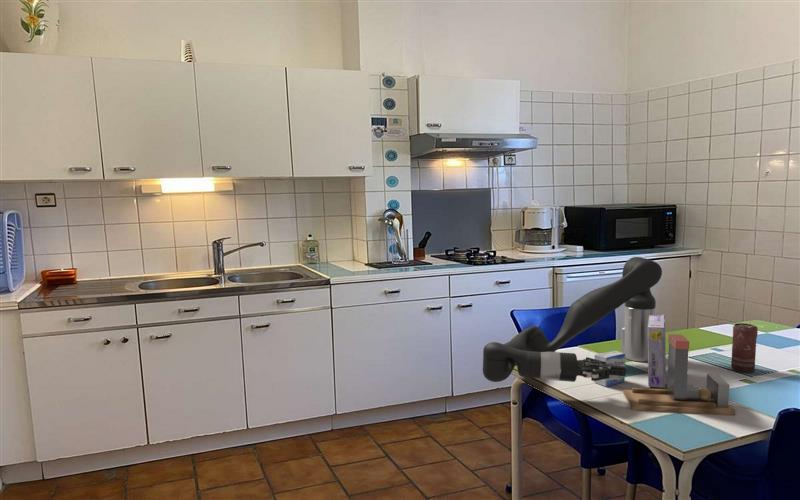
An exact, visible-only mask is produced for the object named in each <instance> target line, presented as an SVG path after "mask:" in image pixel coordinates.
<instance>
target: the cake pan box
mask: <svg viewBox="0 0 800 500" xmlns="http://www.w3.org/2000/svg"><path fill="white" fill-rule="evenodd" d="M666 340H667V339H666V316H665V314H655V315H649V322H648V361H647V376H648V378H647V379H648V380H647V381H648V387H650V388H655V389H666V378H667V377H666V375H667V365H666V363H667V362H666V360H667V356H666V349H667V348H666V343H667V342H666Z"/></svg>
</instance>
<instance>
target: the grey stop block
mask: <svg viewBox="0 0 800 500" xmlns="http://www.w3.org/2000/svg"><path fill="white" fill-rule="evenodd" d="M706 388H707V389H708V390H709V391H710V392H711V398H710V400H711V401H712V402H713V403H715V404H716V406H717V407H720V408H728V404H729V403H730V402H729V400H730V399H729V397H730V384H729V383H728V382H727V381H726V380H725V379H724V378H722V376H721V375H719V374H718V373H706ZM729 405H730V404H729Z"/></svg>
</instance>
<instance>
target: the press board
mask: <svg viewBox="0 0 800 500" xmlns="http://www.w3.org/2000/svg"><path fill="white" fill-rule="evenodd" d="M622 391H623V393H622V394H623V396H624V398H625V400H626V401H627V403H628V406H630V409H631V411H647V412H649V411H650V412H668V413H670V412H671V413H686V414H688V413H691V414H707V415H725V416H735V415H736V410H735V409H734V407H732V406H731V405H730V404H728V408H720V407H717V406H716V404H715V403H713V402H712V401H711V400H710V399H709V400H708V401H701V400H699V399H698V402H691V401H673V400H672V399H671V397H670V396H669V395H668V393H667V388H665V389H662V388H645V387H631V389H622Z"/></svg>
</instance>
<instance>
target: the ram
mask: <svg viewBox="0 0 800 500" xmlns="http://www.w3.org/2000/svg"><path fill="white" fill-rule="evenodd" d="M667 342H668V352H667V353H668V354H667V380H666V381H667V383H666V389H667V393H668V395H669V396H670V397H671V399H672V400H673V401H691V402H698V398H699V391H698V390H697V389H698V388H696V387H695V385H694V384H692V383H691V384H690V383H688V372H689V371H688V370H689V369H688V367H689V366H688V365H689V350H690V340H688V338H686V337H685V336H683V334H673V333H671V334H670V333H669V334H668V339H667Z"/></svg>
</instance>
